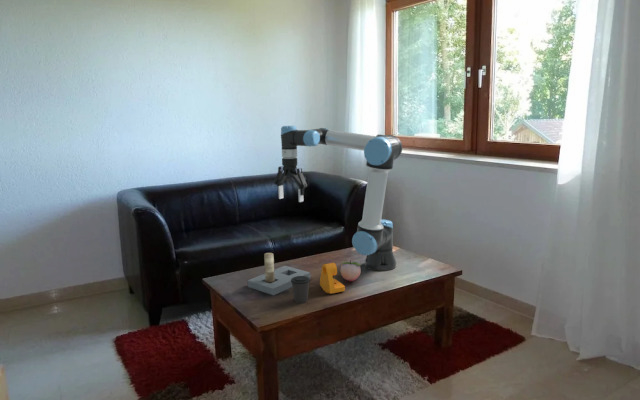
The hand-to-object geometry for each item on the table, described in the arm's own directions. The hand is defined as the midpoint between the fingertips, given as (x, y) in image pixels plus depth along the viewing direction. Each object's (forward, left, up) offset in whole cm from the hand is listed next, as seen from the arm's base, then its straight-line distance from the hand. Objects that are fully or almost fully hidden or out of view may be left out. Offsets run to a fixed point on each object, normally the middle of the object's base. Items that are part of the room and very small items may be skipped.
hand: (291, 200), depth 241 cm
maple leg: (-16, +32, -32) cm, 48 cm away
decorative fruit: (-41, +6, -32) cm, 52 cm away
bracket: (-40, +18, -32) cm, 54 cm away
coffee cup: (-37, +35, -32) cm, 60 cm away
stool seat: (-16, +26, -32) cm, 44 cm away
